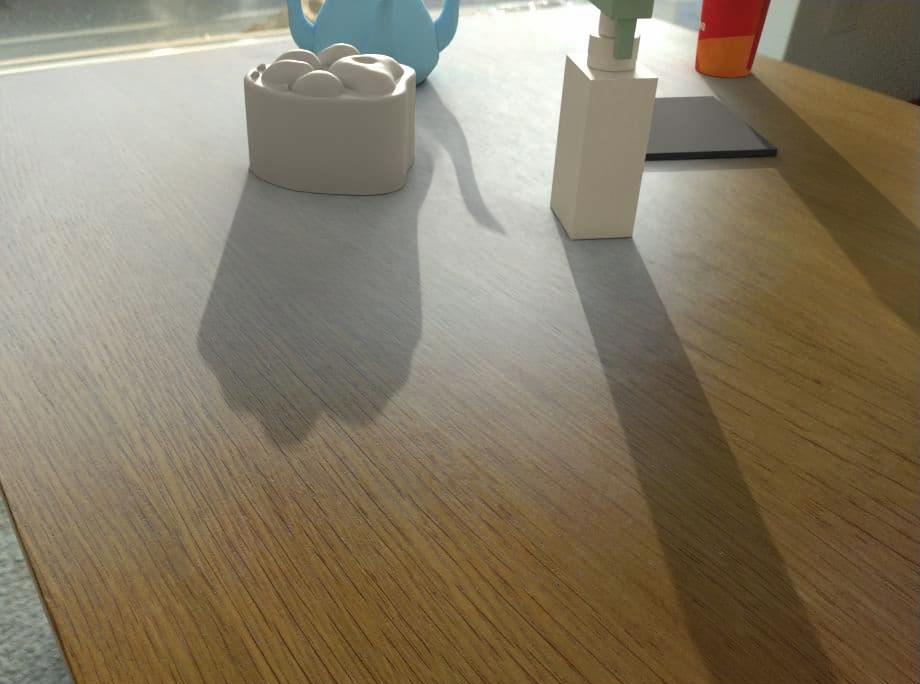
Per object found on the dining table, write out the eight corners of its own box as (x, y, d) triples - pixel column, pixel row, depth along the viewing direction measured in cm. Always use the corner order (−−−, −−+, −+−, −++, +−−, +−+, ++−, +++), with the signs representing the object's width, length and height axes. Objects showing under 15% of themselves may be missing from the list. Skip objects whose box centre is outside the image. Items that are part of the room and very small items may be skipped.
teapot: (368, 48, 107) (367, -54, 101) (480, 74, 99) (486, -35, 93) (273, 79, 98) (265, -31, 92) (388, 110, 90) (388, -8, 84)
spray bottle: (607, 202, 73) (643, -49, 63) (634, 239, 68) (678, -28, 58) (549, 205, 73) (577, -48, 63) (572, 242, 68) (606, -27, 58)
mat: (712, 102, 93) (713, 95, 92) (776, 155, 81) (778, 148, 81) (567, 106, 91) (567, 100, 91) (611, 161, 80) (612, 154, 80)
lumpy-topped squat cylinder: (398, 199, 74) (400, 82, 69) (232, 186, 75) (222, 72, 71) (419, 150, 82) (422, 43, 77) (269, 139, 84) (262, 34, 79)
